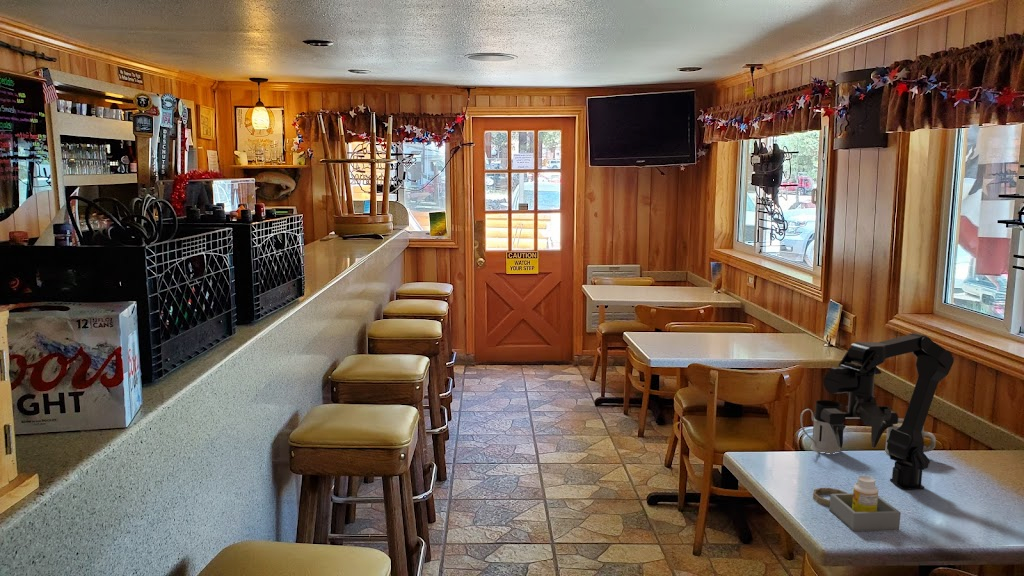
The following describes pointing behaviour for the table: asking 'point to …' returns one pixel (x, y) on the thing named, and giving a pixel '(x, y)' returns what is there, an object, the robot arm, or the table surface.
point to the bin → (864, 514)
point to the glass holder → (822, 428)
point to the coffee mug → (924, 434)
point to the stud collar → (825, 491)
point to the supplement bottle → (865, 495)
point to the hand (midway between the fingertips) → (856, 447)
